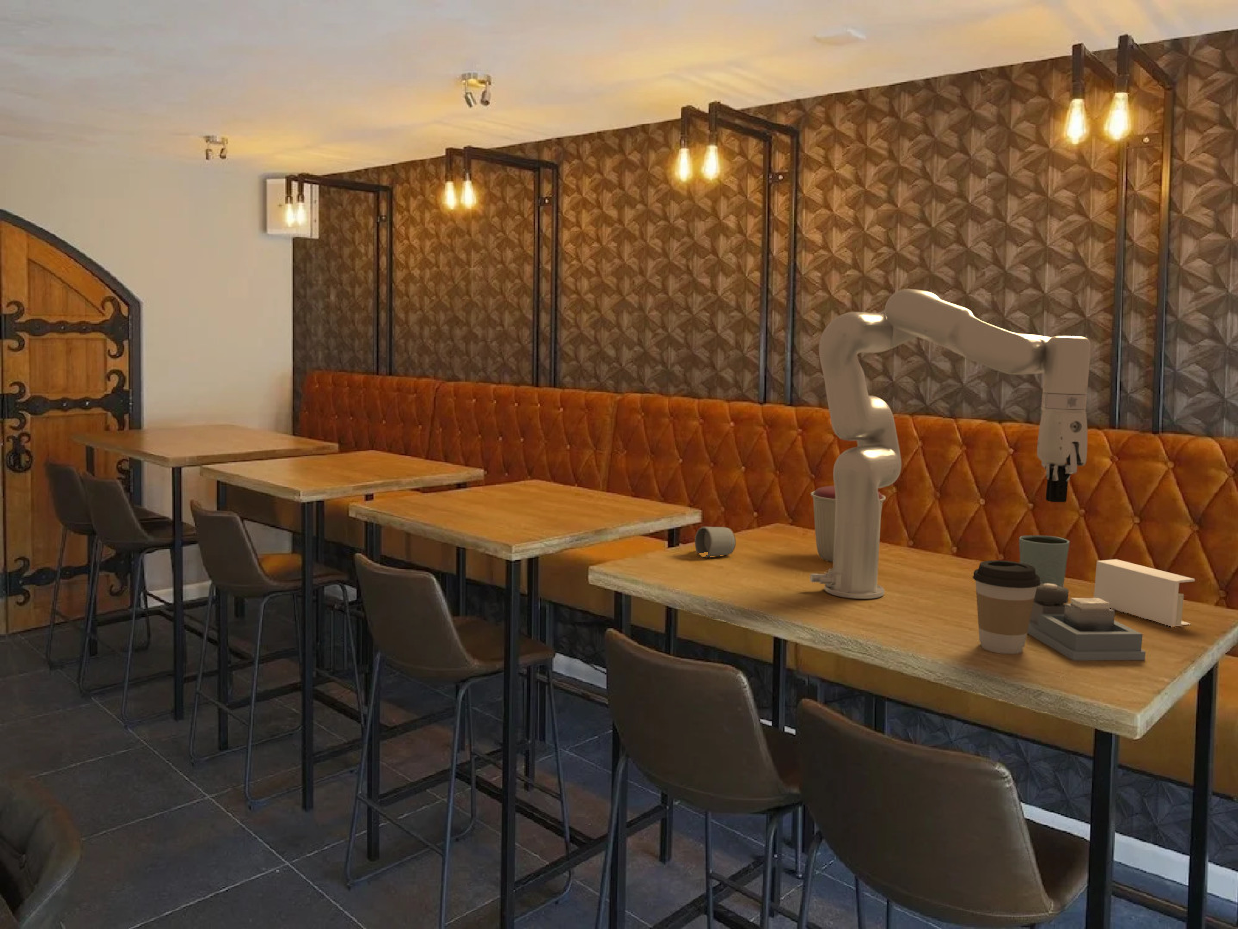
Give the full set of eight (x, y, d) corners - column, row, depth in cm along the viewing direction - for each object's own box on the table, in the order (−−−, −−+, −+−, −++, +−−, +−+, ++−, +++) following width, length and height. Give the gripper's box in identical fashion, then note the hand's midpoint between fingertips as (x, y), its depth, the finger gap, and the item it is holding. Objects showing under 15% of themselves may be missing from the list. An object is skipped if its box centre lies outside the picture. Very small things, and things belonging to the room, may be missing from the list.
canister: (793, 555, 256) (797, 472, 253) (853, 550, 263) (857, 470, 260) (835, 570, 239) (839, 482, 236) (897, 565, 246) (902, 480, 243)
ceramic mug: (737, 557, 251) (738, 527, 250) (710, 560, 247) (711, 529, 246) (713, 550, 260) (713, 521, 260) (686, 553, 256) (687, 523, 255)
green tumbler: (1070, 599, 216) (1074, 544, 215) (1020, 596, 218) (1024, 542, 217) (1059, 588, 226) (1063, 536, 225) (1011, 585, 228) (1015, 533, 227)
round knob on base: (1040, 624, 188) (1042, 589, 187) (1023, 615, 194) (1025, 580, 194) (1072, 624, 189) (1075, 589, 188) (1055, 615, 195) (1057, 581, 194)
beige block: (1112, 643, 179) (1115, 604, 178) (1077, 643, 179) (1080, 604, 178) (1096, 635, 184) (1099, 597, 183) (1062, 635, 184) (1065, 597, 183)
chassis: (1073, 660, 174) (1075, 629, 173) (1013, 624, 196) (1014, 596, 195) (1144, 660, 175) (1147, 629, 175) (1077, 624, 197) (1079, 596, 196)
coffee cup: (1019, 639, 186) (1025, 559, 184) (1047, 658, 175) (1053, 573, 173) (958, 638, 186) (963, 558, 184) (982, 657, 175) (988, 572, 173)
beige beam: (1191, 626, 198) (1195, 579, 197) (1171, 628, 196) (1175, 581, 195) (1107, 601, 217) (1111, 558, 215) (1088, 603, 214) (1091, 559, 213)
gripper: (1105, 406, 179) (1097, 508, 182) (1062, 401, 194) (1054, 495, 197) (1065, 405, 179) (1057, 508, 181) (1024, 400, 194) (1017, 494, 196)
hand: (1055, 501), depth 189 cm, fingers closed
